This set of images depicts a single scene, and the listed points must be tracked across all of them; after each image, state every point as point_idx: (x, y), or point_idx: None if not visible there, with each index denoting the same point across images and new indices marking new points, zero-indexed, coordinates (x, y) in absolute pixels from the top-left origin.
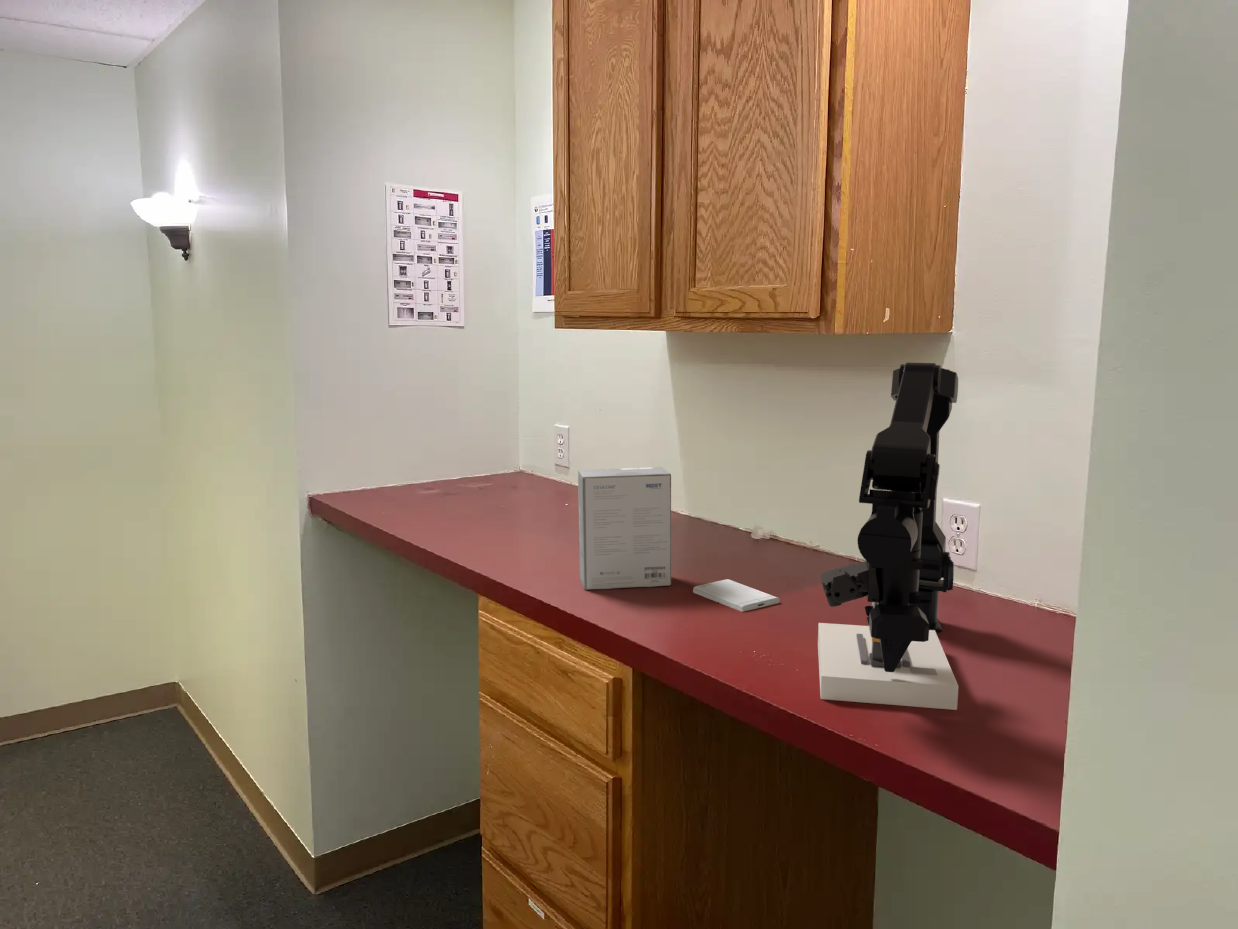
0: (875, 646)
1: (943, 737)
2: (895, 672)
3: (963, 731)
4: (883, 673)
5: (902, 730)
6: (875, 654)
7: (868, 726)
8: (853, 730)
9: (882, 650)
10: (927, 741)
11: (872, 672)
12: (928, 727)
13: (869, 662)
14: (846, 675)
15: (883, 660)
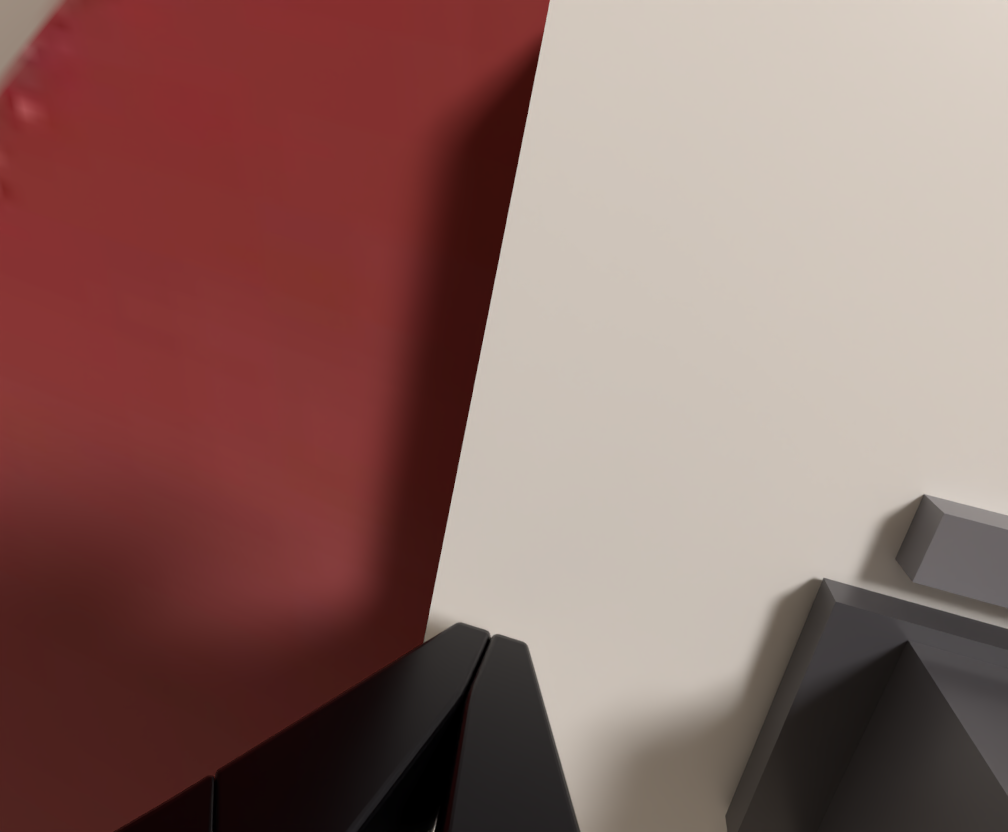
0: (982, 805)
1: (95, 626)
2: (633, 729)
3: (173, 744)
4: (617, 619)
5: (137, 454)
6: (929, 716)
7: (158, 264)
8: (89, 143)
9: (242, 762)
10: (38, 532)
11: (650, 528)
12: (193, 606)
13: (957, 602)
14: (576, 217)
15: (373, 676)
